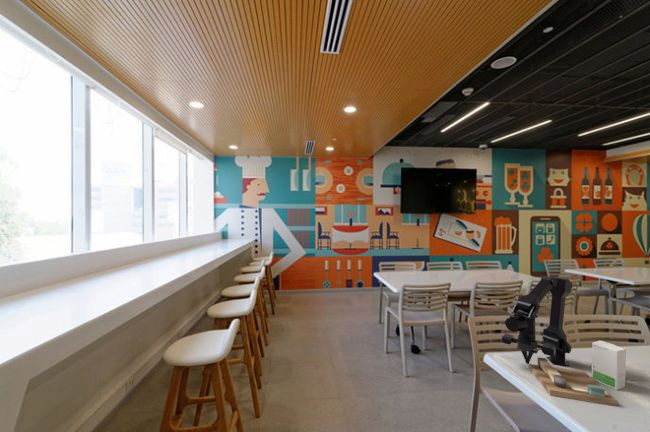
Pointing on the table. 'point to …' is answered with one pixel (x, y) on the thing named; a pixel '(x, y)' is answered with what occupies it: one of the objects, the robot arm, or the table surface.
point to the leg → (552, 372)
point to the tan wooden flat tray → (574, 386)
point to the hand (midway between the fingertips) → (527, 363)
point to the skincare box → (608, 364)
